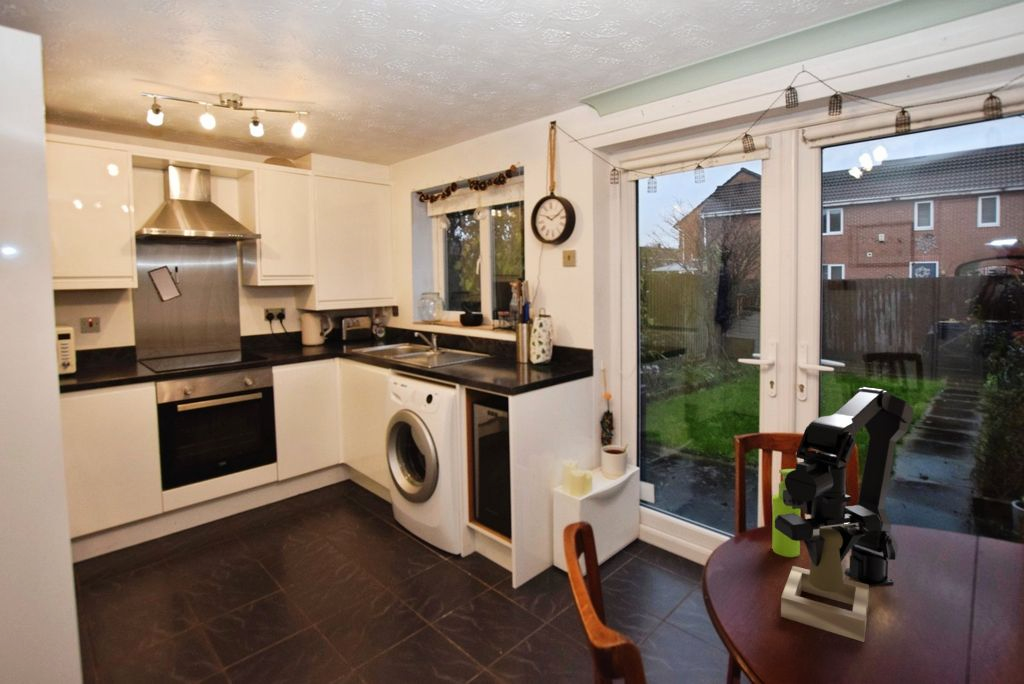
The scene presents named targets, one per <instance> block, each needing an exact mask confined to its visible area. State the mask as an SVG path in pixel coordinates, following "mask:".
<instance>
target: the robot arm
mask: <svg viewBox="0 0 1024 684" xmlns="http://www.w3.org/2000/svg"><path fill="white" fill-rule="evenodd" d="M913 419H914V409H913V407H912V406H911V405H910V404H909V403H908V402H907V400H903V399H902V398H899V397H897V396H894V395H892V394H890V393H889V391H886V390H885V389H880V388H871V387H865V386H863V387H860V388H858V389H857V391H856V394H855V395H854V396H853V397H851V399H849V400H848V401H847V402H846V403H845V404H844V405H843V406H842V407H840V408H839V409H838V410H837V411H836V412H835V413H833V414H831V415H826V416H825V415H824V416H819V417H818V418H815V420H812V421H811V422H810V423H809V424H808V425H807V426H806V428H805V430H804V432H803V435H802V437H801V440H800V443H799V445H798V447H797V448H798V449H797V450H796V453H795V458H798V459H801V460H803V461H799V462H797V463H795V468H794V469H795V470H793V471H791V472H789V473H788V474H787V476H786V478H785V486H786V489H787V490H783V502H784V504H785V505H786V506H792V509H801V510H802V513H803V514H804V515H807V516H808V515H809V516H810V518H803V517H801V515H800V516H798V515H797V514H795V513H790V514H782V515H778V516H777V517H776V518H775V528H776V529H777V530H779V531H780V532H781V533H783V534H784V535H786V536H787V537H789V538H790V539H791V540H795V541H800V542H801V541H803V542H804V544H805V547H806V550H807V552H808V555H809V557H810V559H811V560H810V561H811V563H813V565H815V566H816V567H817V566H818V565H819V563H820V560H821V556H822V551H823V546H824V542H825V539H824V538H822V537H821V536H819V530H820V528H826V527H829V528H832V529H835V530H837V531H838V532H839V533H840V534H841V536H842V539H843V543H842V546H841V548H840V549H839V551H840V559H841V563H842V562H843V560H845V557H846V556H847V555H848V553H849V552H850V555H849V564H848V565H849V568H845V569H844V572H845V573H847V574H848V575H849V576H851V578H854V579H855V580H857V582H859V583H863V584H867V585H869V588H870V587H877V586H878V587H879V586H883V585H884V586H885V585H892V584H894V583H895V582H894V581H895V580H894V579H892V578H891V577H889V576H888V574H889V561H891V560H892V561H895V560H897V555H898V551H899V550H898V548H899V544H898V542H897V540H896V539H895V537H894V536H893V535H892V532H891V531H892V523H891V521H890V518H889V516H888V515H887V512H886V510H885V507H886V502H887V501H886V500H887V496H888V489H889V483H890V479H891V478H890V477H891V472H892V466H893V461H894V454H895V449H896V444H897V441H899V440H900V438H902V437H903V436H904V435H906V433H907V432H908V430H909V426H910V424H911V423H912V422H913ZM863 427H865V430H866V432H867V433H868V437H869V438H868V442H867V443H868V444H867V449H866V455H865V461H864V466H863V470H862V476H861V477H862V478H861V482H860V488H859V494H858V499H857V502H856V503H855V505H849V506H846V503H850V502H851V497H852V496H851V495H848V494H846V490H847V489H846V487H847V485H846V482H847V463H848V462H849V461H850V460H851V459H850V457H851V455H852V453H853V451H854V448H855V447H856V443H857V442H856V434H857V433H858V432H859V431H860V430H861V429H862V428H863ZM809 449H810V450H809ZM812 450H813V451H812ZM820 452H821V453H820Z"/></svg>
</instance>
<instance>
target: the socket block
mask: <svg viewBox="0 0 1024 684" xmlns="http://www.w3.org/2000/svg"><path fill="white" fill-rule="evenodd" d="M809 574H810V569H806V568H802V567H799V566H794V565H792V567H791V570H790V573H789V575H788V578H787V580H786V583H785V585H784V588H783V591H782V594H781V596H780V617H781V618H785V619H788V620H790V621H794V622H798V623H799V624H803V625H806V626H810V627H814V628H816V629H819V630H820V629H821V630H822V631H823V630H824V631H826V632H830V633H833V634H836V635H839V636H843V637H846V638H850V639H854V640H856V641H859V642H863V643H864V642H865V640H866V639H865V637H866V629H867V628H866V627H867V620H868V611H869V610H868V609H869V595H870V594H869V589H870V587H869V585H867V584H863V583H861V582H860V581H855V580H850V579H846V578H843V581H844V590H842V591H840V592H826V591H823V590H820V589H818V588H815V587H814V586H812V585H811V584H810V583H809V580H808V579H809ZM802 592H805V593H808V594H812V595H815V596H820V597H823V598H826V599H830V600H834V601H838V602H840V603H841V602H842V603H844V604H848V605H852V610H848V609H845V608H840V607H837V606H834V605H832V604H831V605H830V604H827V603H824V602H819V601H815V600H812V599H809V598H806V597H802V596H801V594H802Z"/></svg>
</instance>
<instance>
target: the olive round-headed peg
mask: <svg viewBox="0 0 1024 684" xmlns="http://www.w3.org/2000/svg"><path fill="white" fill-rule="evenodd" d="M819 536H821V537H822V538H824V539H825V542H824V546H823V551H822V556H821V560H820V563H819V565H818V566H817V567H816V566H815V565H813V563H812V562H811V563H810V569H809V570H810V574H809V579H808V580H809V583H810V584H811V585H812V586H814V587H815V588H818V589H820V590H823V591H826V592H840V591H842V590H844V581H843V579H844V575H843V569H842V567H843V566H842V562H841V559H840V551H839V549H840V548H841V546H842V543H843V539H842V536H841V534H840V533H839V532H838V531H837V530H835V529H832V528H831V527H826V528H820V530H819Z"/></svg>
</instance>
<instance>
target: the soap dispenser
mask: <svg viewBox="0 0 1024 684" xmlns="http://www.w3.org/2000/svg"><path fill="white" fill-rule="evenodd" d="M795 469H796V468H786V469H785V468H784V469H779V470H778V471H779V472H778V473H779V474H781V475H782V481H780V482H779V483H778V493H776V494H774V495H772V531H771V532H772V533H771V534H772V535H771V536H772V537H771V538H772V540H771V541H772V542H771V549H773V550H772V552H774V553H775V554H777V555H779V556H782V557H786V558H795V557H799V556H800V554H801V553H800V552H801V551H800V550H801V541H795V540H791V539H790V538H789V537H787V536H786V535H784V534H783V533H781V532H780V531H779V530H777V529H776V528H775V518H776V517H777V516H778V515H782V514H790V513H795V514H797V515H798V516H800V517H801V512H802V511H801V510H802V509H792V506H786V505H785V504H784V502H783V490H787V489H786V486H785V478H786V476H787V474H788V473H789V472H791V471H793V470H795Z"/></svg>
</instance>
